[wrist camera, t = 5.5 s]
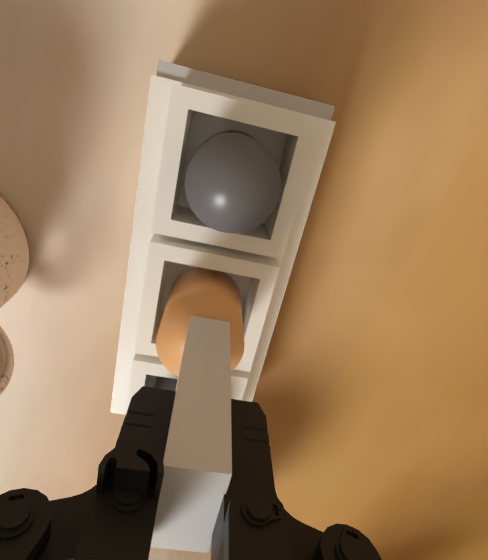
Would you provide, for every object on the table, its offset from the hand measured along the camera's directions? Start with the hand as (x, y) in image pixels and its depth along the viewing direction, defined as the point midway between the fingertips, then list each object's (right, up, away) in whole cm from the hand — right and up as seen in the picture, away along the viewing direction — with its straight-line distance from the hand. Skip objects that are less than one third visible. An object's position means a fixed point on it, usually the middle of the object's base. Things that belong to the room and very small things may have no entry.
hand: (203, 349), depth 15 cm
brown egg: (0, +2, +4) cm, 4 cm away
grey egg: (+1, +8, +3) cm, 8 cm away
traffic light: (-1, +2, +9) cm, 9 cm away
